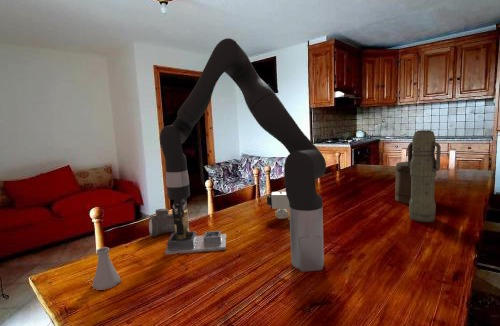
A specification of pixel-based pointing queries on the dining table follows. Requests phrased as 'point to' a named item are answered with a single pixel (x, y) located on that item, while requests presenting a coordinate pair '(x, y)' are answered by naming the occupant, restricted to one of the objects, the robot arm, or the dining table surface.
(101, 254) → the flask
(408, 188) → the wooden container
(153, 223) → the pipe fitting
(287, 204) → the pneumatic valve
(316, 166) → the robot arm
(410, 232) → the dining table surface
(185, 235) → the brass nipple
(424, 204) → the thermos
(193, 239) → the plate
